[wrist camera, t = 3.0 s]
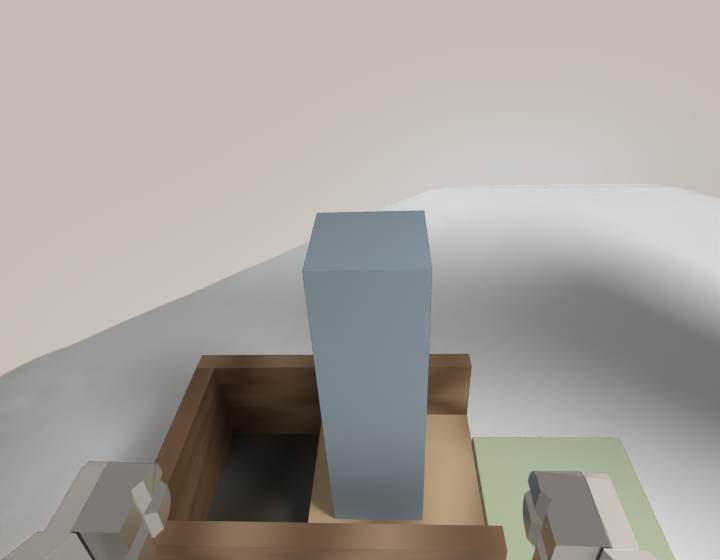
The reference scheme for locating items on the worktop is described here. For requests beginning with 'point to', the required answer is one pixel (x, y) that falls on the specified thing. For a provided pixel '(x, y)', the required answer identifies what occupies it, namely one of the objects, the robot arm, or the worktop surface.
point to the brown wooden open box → (307, 471)
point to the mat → (523, 455)
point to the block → (371, 357)
